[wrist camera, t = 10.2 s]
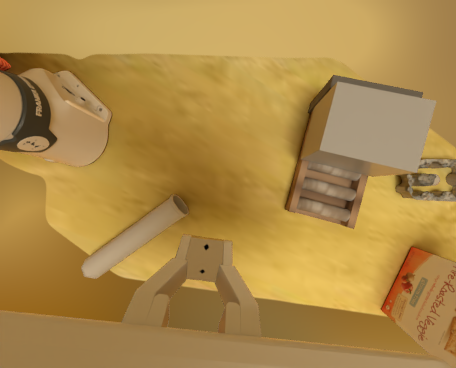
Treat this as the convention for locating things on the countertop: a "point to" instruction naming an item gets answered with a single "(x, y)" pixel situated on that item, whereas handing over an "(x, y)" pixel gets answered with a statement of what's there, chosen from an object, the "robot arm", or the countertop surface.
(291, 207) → the roller bed
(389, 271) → the countertop surface
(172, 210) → the tube
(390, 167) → the grey cardboard box
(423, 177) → the egg carton
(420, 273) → the cracker box
